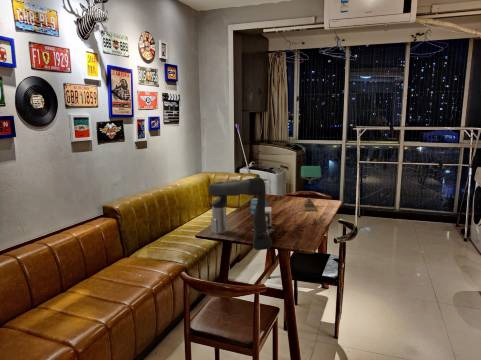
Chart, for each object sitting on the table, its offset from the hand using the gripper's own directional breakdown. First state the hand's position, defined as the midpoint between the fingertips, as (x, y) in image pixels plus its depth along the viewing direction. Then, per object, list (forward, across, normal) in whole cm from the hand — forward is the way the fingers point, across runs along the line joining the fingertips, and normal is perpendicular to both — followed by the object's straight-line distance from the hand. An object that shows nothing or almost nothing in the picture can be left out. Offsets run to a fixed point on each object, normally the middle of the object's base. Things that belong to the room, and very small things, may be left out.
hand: (263, 224), depth 228 cm
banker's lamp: (+67, -38, +7) cm, 77 cm away
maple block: (+1, 0, +7) cm, 7 cm away
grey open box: (+20, 0, +7) cm, 21 cm away
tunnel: (+10, 0, +7) cm, 12 cm away
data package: (+49, +4, +7) cm, 50 cm away
